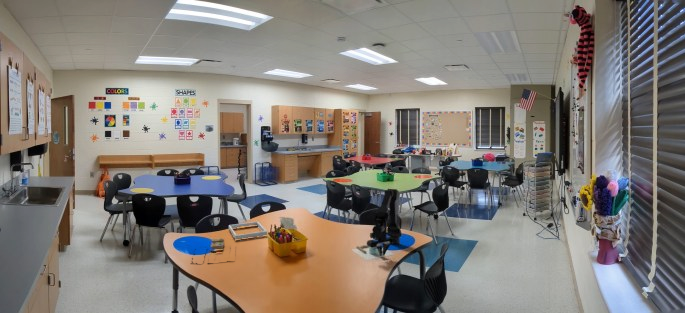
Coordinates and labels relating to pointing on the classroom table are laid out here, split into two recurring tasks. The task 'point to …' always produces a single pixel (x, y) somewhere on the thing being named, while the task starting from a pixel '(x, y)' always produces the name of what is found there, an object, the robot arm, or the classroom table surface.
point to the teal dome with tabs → (374, 251)
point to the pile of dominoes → (217, 243)
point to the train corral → (248, 233)
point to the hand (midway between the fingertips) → (382, 255)
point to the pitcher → (287, 223)
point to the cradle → (362, 247)
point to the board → (369, 256)
